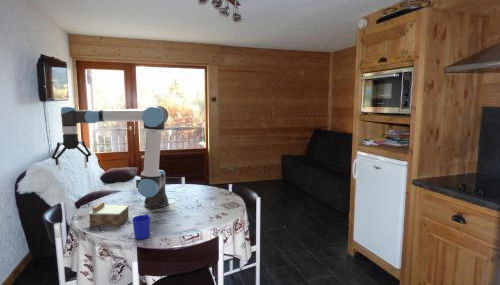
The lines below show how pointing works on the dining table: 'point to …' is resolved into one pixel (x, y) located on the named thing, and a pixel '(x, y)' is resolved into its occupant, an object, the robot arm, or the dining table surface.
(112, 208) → the lid
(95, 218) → the box
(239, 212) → the dining table surface
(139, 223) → the mug
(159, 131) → the robot arm
